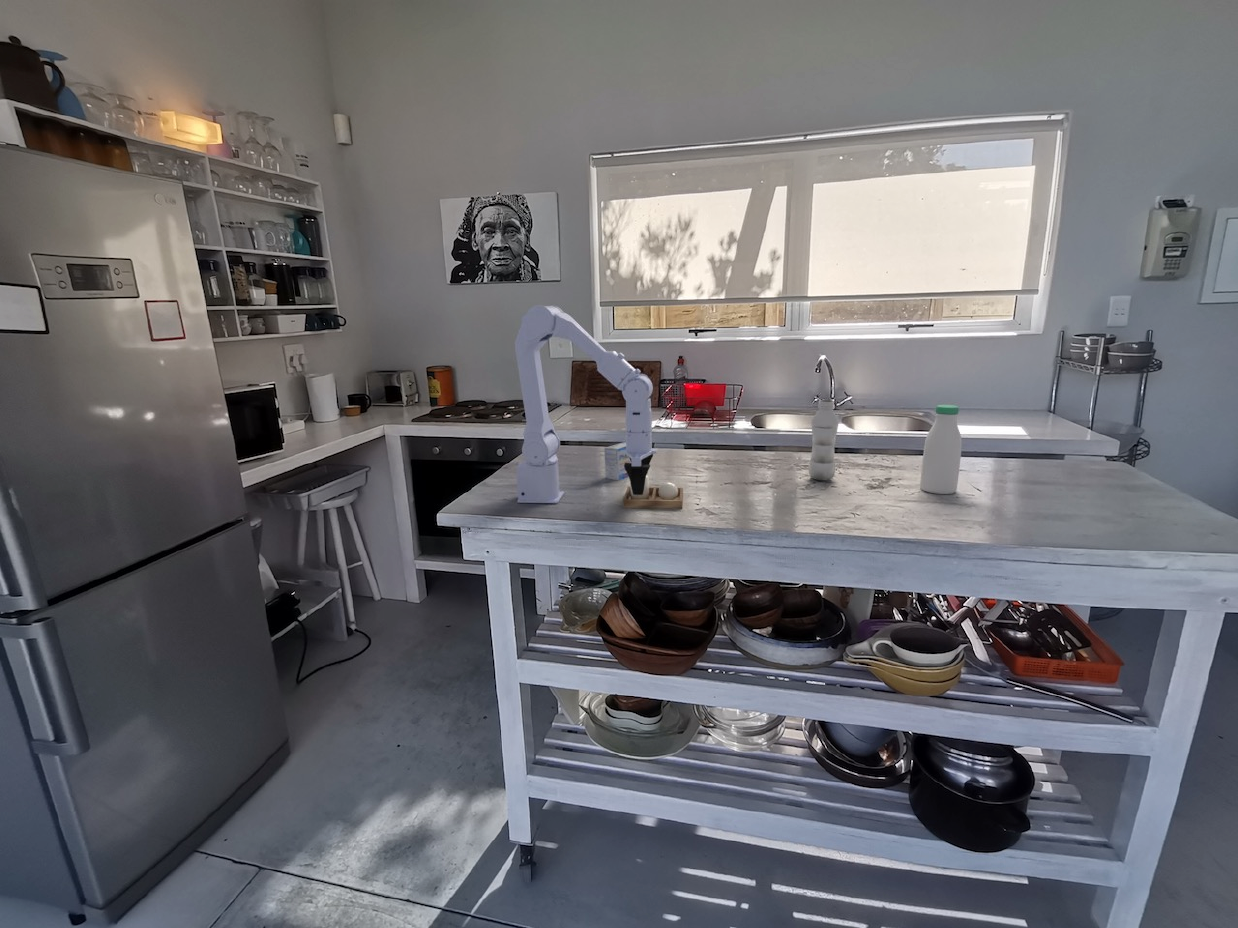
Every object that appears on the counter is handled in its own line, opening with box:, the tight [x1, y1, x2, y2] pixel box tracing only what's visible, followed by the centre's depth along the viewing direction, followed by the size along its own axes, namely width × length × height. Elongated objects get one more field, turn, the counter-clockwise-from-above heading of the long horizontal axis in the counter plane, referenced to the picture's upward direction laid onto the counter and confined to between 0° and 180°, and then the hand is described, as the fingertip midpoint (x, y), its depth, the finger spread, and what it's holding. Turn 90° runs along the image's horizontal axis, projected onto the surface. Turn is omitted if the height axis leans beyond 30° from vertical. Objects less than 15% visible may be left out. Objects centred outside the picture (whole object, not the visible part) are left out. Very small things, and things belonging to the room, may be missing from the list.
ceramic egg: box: [659, 481, 678, 500], centre depth 137 cm, size 4×4×4 cm
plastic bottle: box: [808, 399, 839, 481], centre depth 151 cm, size 6×7×20 cm
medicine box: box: [604, 441, 631, 481], centre depth 158 cm, size 8×4×9 cm, turn 143°
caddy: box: [622, 486, 684, 510], centre depth 138 cm, size 13×10×2 cm
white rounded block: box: [629, 473, 650, 500], centre depth 138 cm, size 4×4×6 cm
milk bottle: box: [919, 404, 963, 495], centre depth 140 cm, size 8×8×20 cm
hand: (639, 489), depth 138 cm, fingers open, 7 cm apart
